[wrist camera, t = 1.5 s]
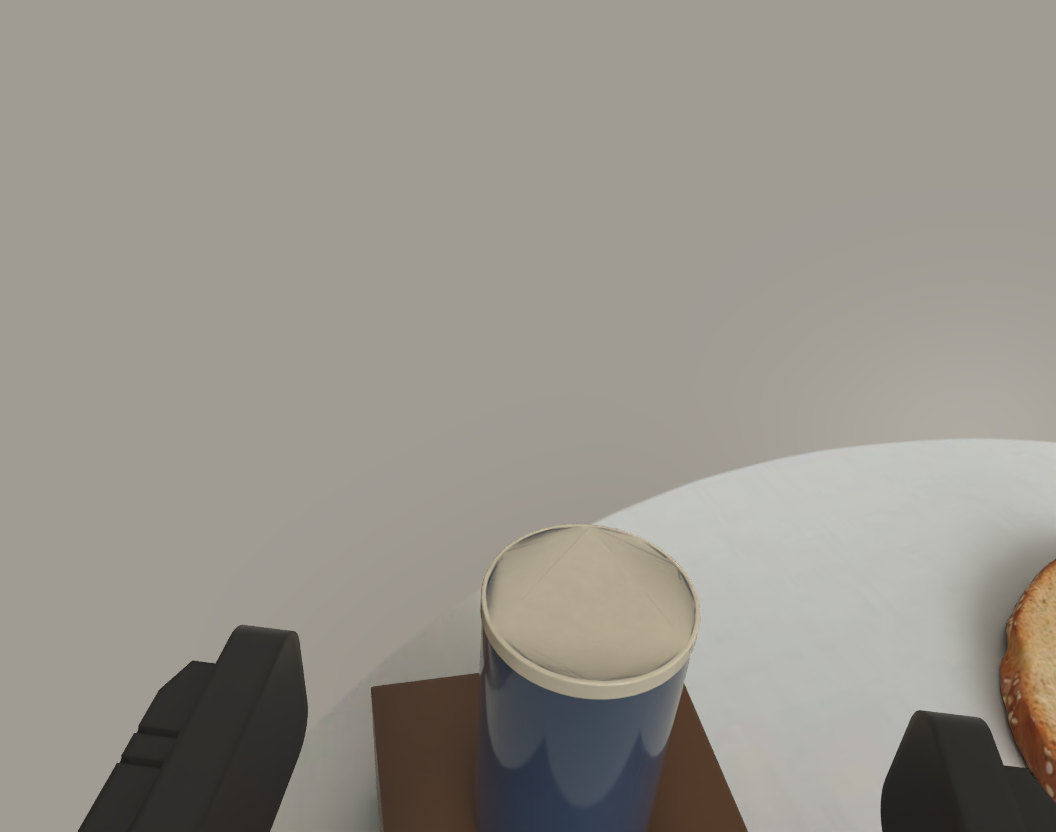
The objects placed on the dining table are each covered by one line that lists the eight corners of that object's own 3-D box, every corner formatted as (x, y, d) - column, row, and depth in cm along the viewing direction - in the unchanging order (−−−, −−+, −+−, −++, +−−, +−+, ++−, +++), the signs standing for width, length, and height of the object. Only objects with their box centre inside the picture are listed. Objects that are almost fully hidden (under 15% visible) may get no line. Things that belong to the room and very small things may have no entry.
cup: (488, 910, 28) (503, 700, 22) (459, 741, 33) (465, 533, 27) (676, 876, 29) (735, 669, 23) (621, 717, 34) (659, 514, 28)
